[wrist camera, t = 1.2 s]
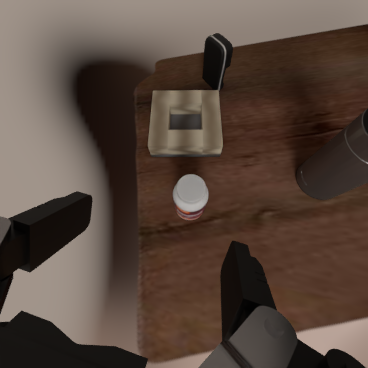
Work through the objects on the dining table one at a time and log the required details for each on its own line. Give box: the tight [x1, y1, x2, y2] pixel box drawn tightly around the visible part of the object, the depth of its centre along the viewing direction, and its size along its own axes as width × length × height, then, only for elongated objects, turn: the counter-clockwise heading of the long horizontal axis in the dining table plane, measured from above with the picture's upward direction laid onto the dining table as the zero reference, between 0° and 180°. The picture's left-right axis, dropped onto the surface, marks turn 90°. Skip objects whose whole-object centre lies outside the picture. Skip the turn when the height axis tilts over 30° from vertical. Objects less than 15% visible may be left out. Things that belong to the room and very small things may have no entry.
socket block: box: [148, 90, 223, 157], centre depth 45 cm, size 16×16×4 cm
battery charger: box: [203, 33, 233, 91], centre depth 48 cm, size 7×4×11 cm, turn 34°
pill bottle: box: [173, 174, 208, 220], centre depth 35 cm, size 6×6×11 cm
